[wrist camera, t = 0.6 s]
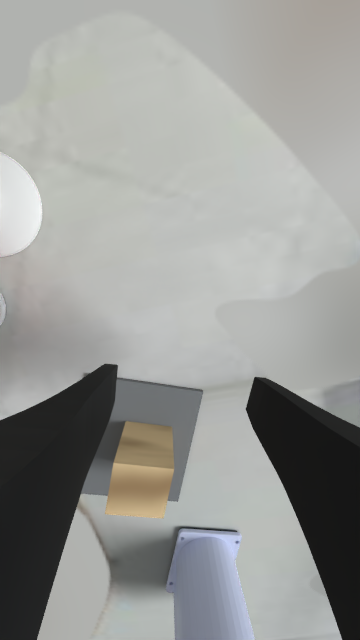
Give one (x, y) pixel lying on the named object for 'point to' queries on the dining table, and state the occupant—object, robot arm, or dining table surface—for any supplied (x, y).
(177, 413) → the mat
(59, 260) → the dining table surface
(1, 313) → the pill bottle
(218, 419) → the dining table surface
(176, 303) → the dining table surface
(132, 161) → the dining table surface
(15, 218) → the wineglass
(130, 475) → the oak block
